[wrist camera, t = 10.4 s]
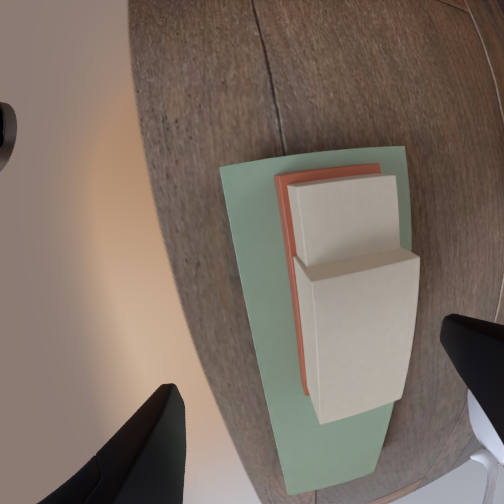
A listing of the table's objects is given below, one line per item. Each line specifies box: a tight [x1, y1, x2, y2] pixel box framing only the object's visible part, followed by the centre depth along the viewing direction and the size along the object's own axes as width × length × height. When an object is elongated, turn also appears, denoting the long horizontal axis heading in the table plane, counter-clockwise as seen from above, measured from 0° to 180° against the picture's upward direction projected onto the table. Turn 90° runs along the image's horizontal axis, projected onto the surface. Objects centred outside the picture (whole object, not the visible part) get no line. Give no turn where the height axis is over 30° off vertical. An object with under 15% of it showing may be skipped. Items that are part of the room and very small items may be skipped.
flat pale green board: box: [219, 146, 412, 496], centre depth 21 cm, size 36×11×3 cm, turn 10°
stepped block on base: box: [274, 163, 420, 425], centre depth 14 cm, size 14×6×5 cm, turn 10°
